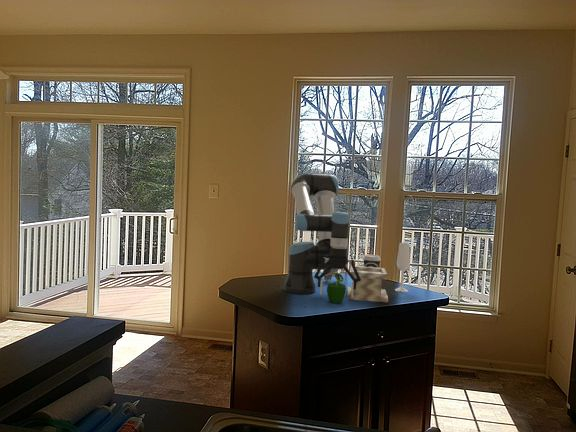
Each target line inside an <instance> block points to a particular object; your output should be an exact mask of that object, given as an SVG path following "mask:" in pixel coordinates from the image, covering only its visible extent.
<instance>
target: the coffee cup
mask: <svg viewBox="0 0 576 432" xmlns="http://www.w3.org/2000/svg"><path fill="white" fill-rule="evenodd" d="M362 260H363V267H374V268H380V264H381V261H382V259H381V257H380V255H378V254H364V256H363V257H362Z"/></svg>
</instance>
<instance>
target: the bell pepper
mask: <svg viewBox="0 0 576 432" xmlns="http://www.w3.org/2000/svg"><path fill="white" fill-rule="evenodd" d="M339 281H340V283H339ZM346 289H347V288H346V284H343V282H342V280H341V278H340V279H339V280H337V279H336V282H335V283H333V282H330V283H329V284H327V286H326V293H327V298H328V301H329V302H331V303H334V304H341V303H342V302H343V301H344V298H345V296H346Z"/></svg>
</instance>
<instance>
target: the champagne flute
mask: <svg viewBox="0 0 576 432" xmlns="http://www.w3.org/2000/svg"><path fill="white" fill-rule="evenodd" d="M410 254H411V252H410V243H408V242H399V247H398V252H397V256H396V257H397V259H396V267H397V268H398V270H399V271H400V272H401V275H400V286H398V287H397V288H395V289H394V290H395V291H396V292H399V291H401V292H402V293H408V292H409V290H408V289H406V288H405V287H404V279H405V278H404V277H405V272H406V271H407V270H408V269H410V267H411V255H410ZM401 292H400V293H401Z"/></svg>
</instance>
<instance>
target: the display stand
mask: <svg viewBox="0 0 576 432" xmlns="http://www.w3.org/2000/svg"><path fill="white" fill-rule="evenodd" d="M355 267H356V269H357V272H358V274H359V276H360V278H361V281H358V282H357V283H356V290H353V297H351V290H352V286H347V297H346V298H347V300H351V301H353V300H354V301H364V302H376V303H378V302H380V303H388V302H389V296H388V294H387V291H386V289H383V288H382V284H383V283H382V282H383V280H386V281H387V280H388V273H387V270H386V268H384V267H379V268H374V267H364V266H359V265H358V266H356V265H355ZM350 272H351V273H352V275H353V276H354V277H355V279H357V277H356V275H355V272H354V270H353V268H352V265H351V266H350Z"/></svg>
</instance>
